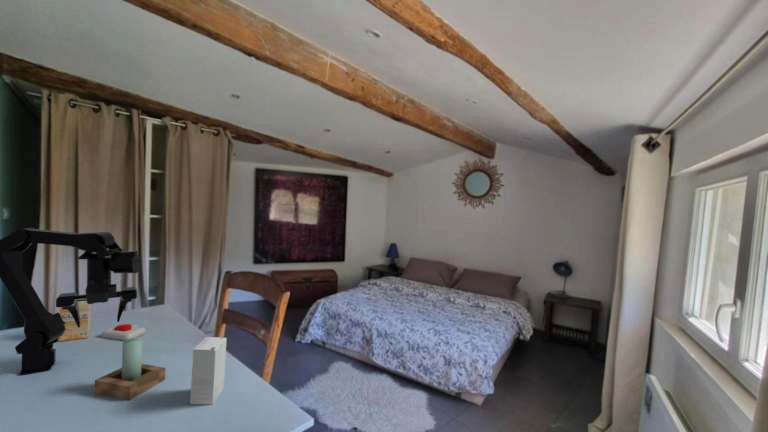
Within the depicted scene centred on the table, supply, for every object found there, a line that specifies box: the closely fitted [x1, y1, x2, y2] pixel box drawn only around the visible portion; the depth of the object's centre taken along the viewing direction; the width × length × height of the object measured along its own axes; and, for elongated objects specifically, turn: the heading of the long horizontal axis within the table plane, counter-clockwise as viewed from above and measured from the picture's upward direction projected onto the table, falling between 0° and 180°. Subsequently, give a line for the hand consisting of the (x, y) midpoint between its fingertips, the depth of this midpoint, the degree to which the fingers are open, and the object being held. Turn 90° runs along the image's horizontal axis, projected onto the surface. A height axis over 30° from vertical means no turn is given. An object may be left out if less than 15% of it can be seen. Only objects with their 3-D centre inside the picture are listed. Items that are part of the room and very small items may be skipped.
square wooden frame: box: [93, 363, 166, 401], centre depth 96 cm, size 11×11×4 cm
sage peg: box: [121, 338, 143, 381], centre depth 96 cm, size 4×4×12 cm
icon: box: [101, 323, 146, 342], centre depth 131 cm, size 12×4×10 cm
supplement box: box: [57, 301, 92, 343], centre depth 126 cm, size 8×5×13 cm, turn 123°
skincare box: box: [189, 336, 227, 405], centre depth 93 cm, size 8×6×15 cm
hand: (99, 324), depth 106 cm, fingers open, 9 cm apart
